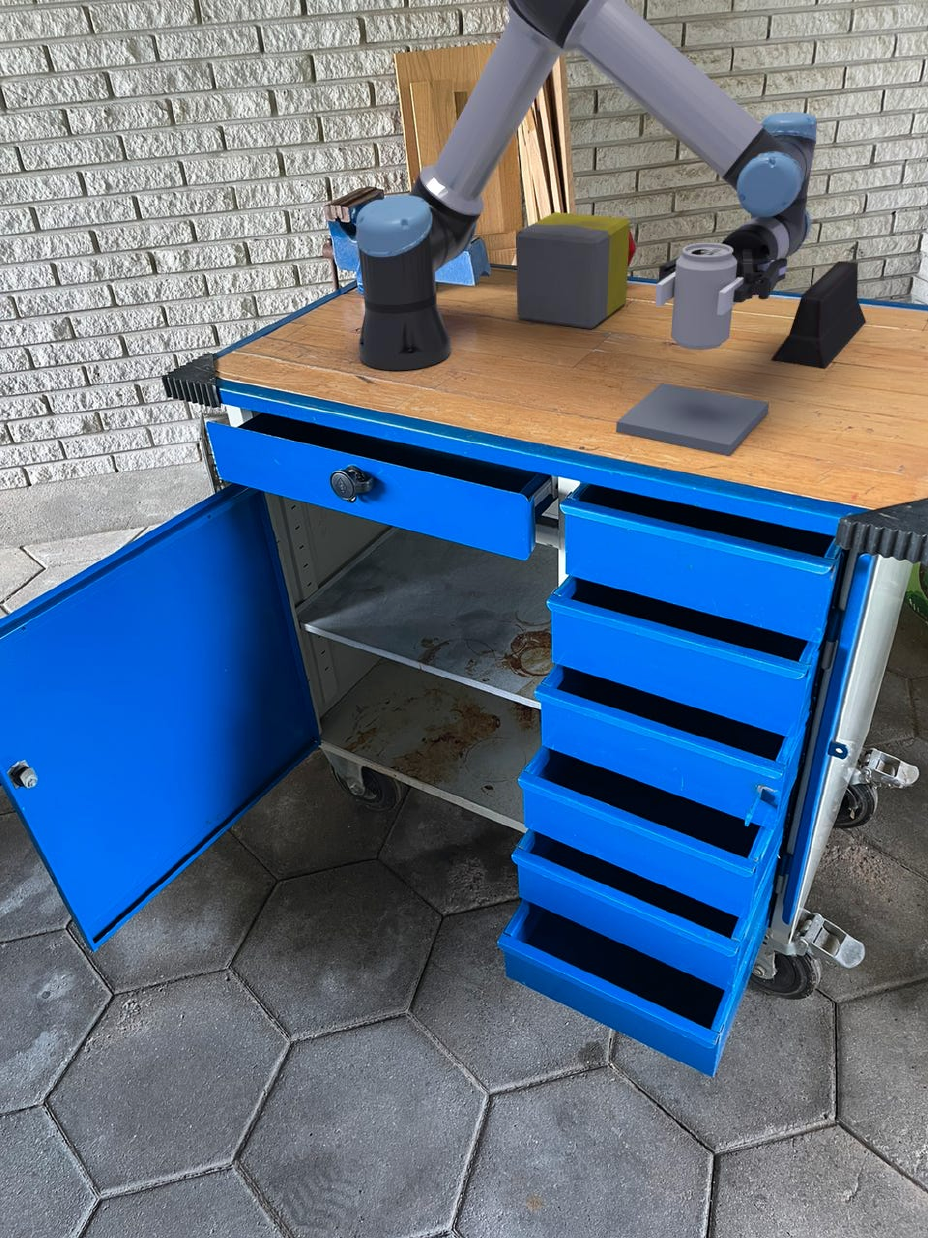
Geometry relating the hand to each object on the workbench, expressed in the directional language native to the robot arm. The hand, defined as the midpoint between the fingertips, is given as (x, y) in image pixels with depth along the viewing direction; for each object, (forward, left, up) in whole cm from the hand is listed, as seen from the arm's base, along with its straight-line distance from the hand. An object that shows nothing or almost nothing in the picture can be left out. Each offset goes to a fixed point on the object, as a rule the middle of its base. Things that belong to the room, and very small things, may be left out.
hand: (689, 299), depth 119 cm
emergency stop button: (-37, +44, -18) cm, 60 cm away
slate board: (0, +5, -18) cm, 19 cm away
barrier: (+6, +43, -19) cm, 48 cm away
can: (0, +5, -7) cm, 9 cm away
